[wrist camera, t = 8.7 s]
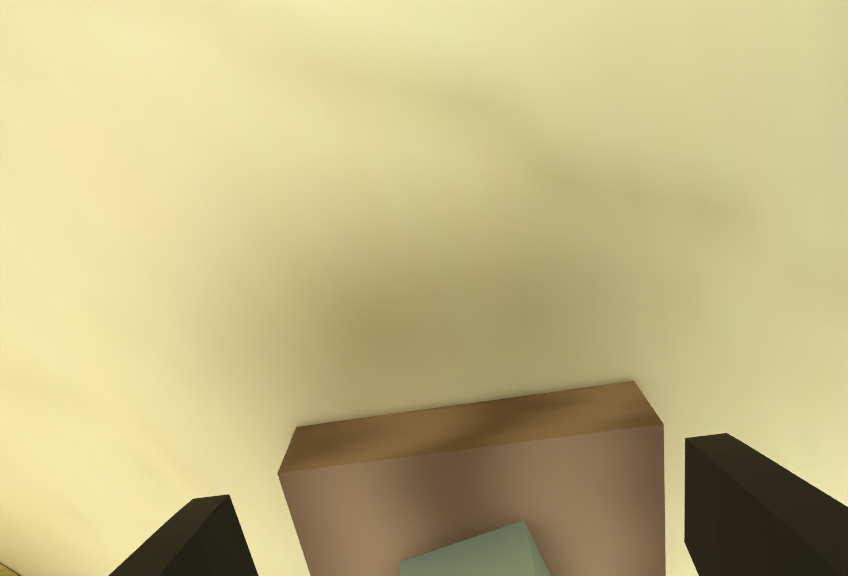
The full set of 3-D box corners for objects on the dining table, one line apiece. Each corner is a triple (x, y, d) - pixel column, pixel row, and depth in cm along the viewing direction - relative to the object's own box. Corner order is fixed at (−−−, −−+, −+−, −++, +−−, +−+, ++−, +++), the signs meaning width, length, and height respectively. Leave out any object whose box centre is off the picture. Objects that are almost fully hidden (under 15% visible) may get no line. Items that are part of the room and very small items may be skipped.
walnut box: (629, 374, 19) (663, 424, 16) (638, 616, 23) (666, 690, 20) (300, 418, 20) (277, 473, 17) (366, 643, 24) (357, 718, 21)
